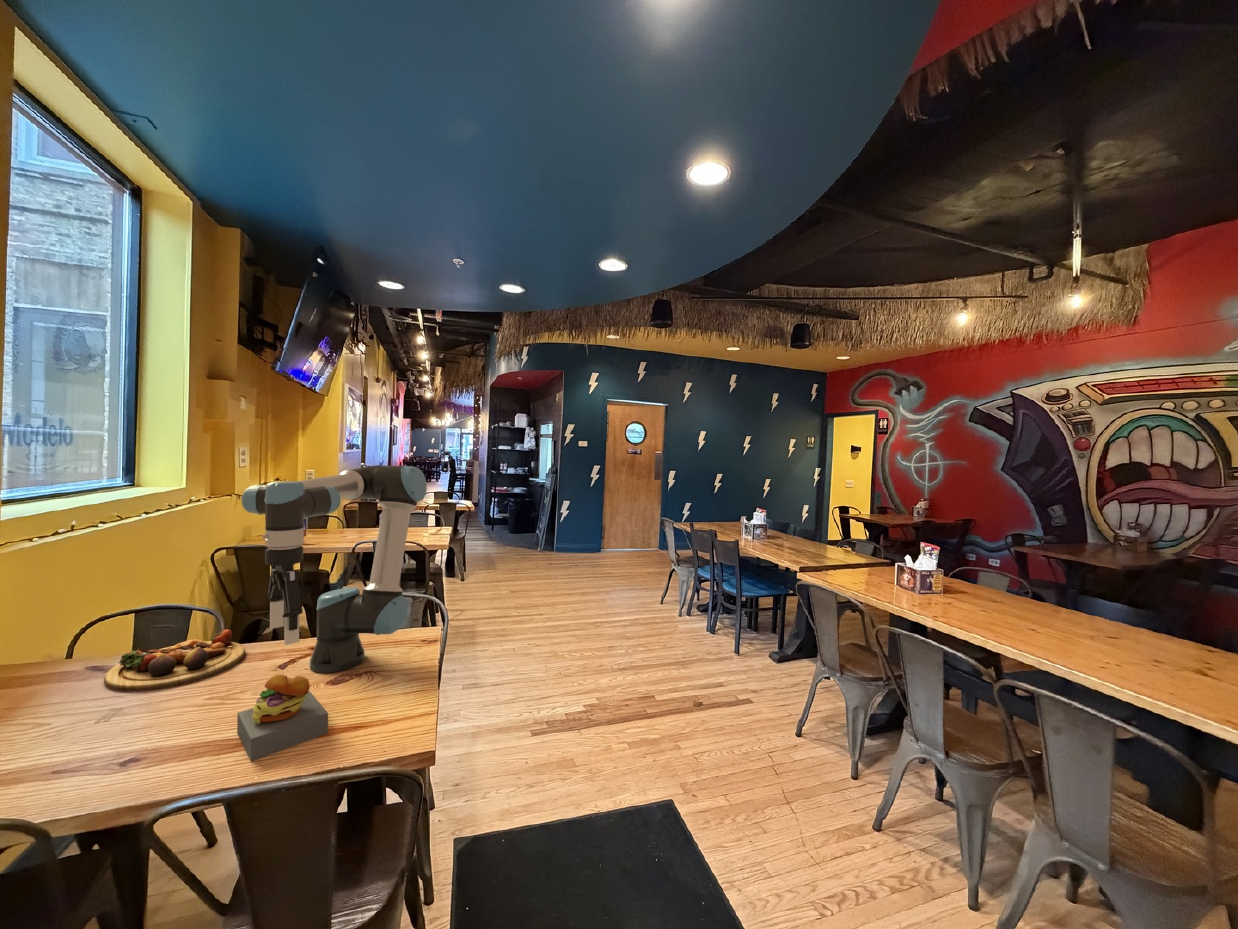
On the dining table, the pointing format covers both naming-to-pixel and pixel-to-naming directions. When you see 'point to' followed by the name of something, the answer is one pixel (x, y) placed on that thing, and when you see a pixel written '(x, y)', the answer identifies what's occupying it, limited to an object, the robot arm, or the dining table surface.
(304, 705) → the tray
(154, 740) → the dining table surface
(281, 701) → the cheeseburger
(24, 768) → the dining table surface
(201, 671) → the wooden plate with food
